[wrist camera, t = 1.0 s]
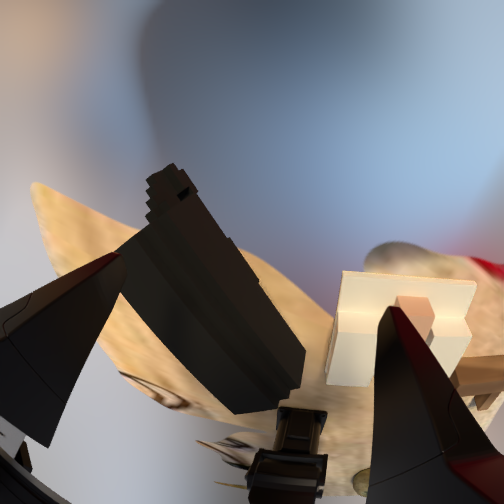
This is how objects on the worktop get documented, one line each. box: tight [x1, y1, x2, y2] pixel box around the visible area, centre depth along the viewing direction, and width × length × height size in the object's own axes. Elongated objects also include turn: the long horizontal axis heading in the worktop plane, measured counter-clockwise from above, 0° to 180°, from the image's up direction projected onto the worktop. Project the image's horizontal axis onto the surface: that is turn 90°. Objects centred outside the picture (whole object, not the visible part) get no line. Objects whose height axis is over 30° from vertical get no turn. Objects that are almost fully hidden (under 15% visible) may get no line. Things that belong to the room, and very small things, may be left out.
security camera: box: [114, 163, 306, 415], centre depth 21 cm, size 7×18×10 cm, turn 34°
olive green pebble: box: [353, 468, 370, 497], centre depth 38 cm, size 14×13×5 cm
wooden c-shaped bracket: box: [449, 355, 504, 411], centre depth 23 cm, size 8×10×4 cm
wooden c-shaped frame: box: [325, 271, 477, 387], centre depth 23 cm, size 12×13×4 cm
